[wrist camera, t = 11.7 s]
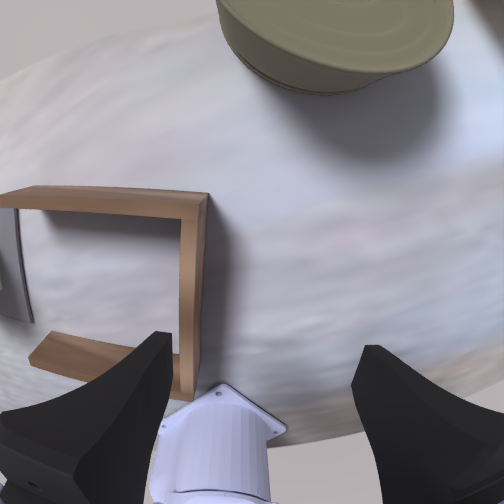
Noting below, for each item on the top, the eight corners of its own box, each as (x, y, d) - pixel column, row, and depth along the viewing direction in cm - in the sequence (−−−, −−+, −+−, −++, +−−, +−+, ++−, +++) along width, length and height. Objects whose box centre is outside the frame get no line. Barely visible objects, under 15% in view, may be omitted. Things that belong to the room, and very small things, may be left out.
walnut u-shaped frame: (199, 365, 22) (193, 401, 18) (53, 338, 21) (30, 365, 17) (208, 192, 18) (199, 203, 14) (34, 185, 17) (-1, 194, 14)
